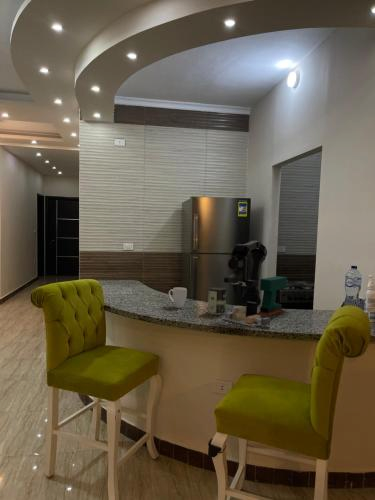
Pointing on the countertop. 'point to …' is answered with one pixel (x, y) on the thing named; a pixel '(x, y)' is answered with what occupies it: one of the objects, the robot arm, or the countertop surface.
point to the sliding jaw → (257, 319)
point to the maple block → (239, 312)
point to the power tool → (271, 294)
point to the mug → (178, 296)
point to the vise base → (229, 317)
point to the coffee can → (217, 300)
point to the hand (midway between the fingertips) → (239, 297)
